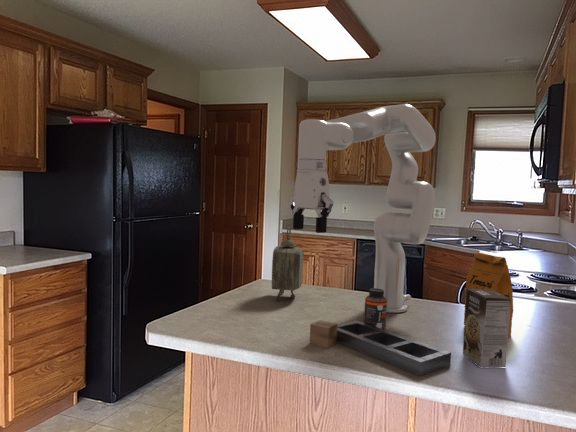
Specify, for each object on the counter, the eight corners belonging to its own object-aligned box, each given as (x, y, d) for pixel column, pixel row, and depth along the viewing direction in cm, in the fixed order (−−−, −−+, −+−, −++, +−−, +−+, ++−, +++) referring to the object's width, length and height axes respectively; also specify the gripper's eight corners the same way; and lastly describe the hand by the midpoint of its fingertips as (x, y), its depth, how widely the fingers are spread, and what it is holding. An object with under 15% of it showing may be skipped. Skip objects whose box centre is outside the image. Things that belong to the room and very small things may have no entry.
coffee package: (487, 339, 126) (493, 258, 125) (458, 326, 138) (463, 251, 137) (518, 337, 129) (523, 258, 128) (486, 324, 141) (491, 251, 139)
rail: (326, 337, 122) (327, 326, 122) (356, 331, 129) (357, 320, 129) (420, 376, 99) (420, 362, 99) (450, 365, 106) (451, 352, 106)
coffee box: (461, 354, 114) (465, 288, 113) (486, 354, 115) (491, 288, 114) (479, 368, 105) (484, 297, 104) (507, 368, 106) (512, 297, 105)
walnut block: (319, 338, 121) (320, 319, 121) (336, 343, 119) (337, 323, 118) (309, 344, 117) (310, 324, 117) (327, 348, 115) (328, 328, 114)
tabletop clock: (277, 292, 172) (280, 224, 170) (302, 294, 170) (305, 225, 169) (270, 302, 157) (273, 227, 156) (297, 304, 156) (300, 229, 155)
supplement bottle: (385, 334, 128) (387, 292, 127) (363, 331, 129) (365, 290, 128) (385, 327, 133) (387, 288, 133) (364, 325, 135) (366, 286, 134)
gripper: (344, 167, 121) (341, 233, 122) (302, 167, 135) (300, 227, 136) (322, 165, 117) (319, 234, 118) (281, 166, 131) (279, 228, 132)
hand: (309, 230), depth 127 cm, fingers open, 9 cm apart
